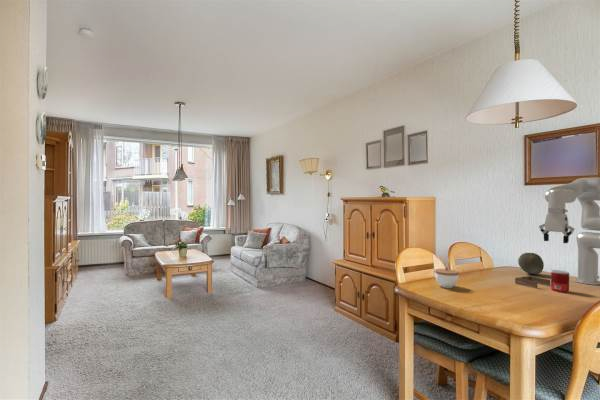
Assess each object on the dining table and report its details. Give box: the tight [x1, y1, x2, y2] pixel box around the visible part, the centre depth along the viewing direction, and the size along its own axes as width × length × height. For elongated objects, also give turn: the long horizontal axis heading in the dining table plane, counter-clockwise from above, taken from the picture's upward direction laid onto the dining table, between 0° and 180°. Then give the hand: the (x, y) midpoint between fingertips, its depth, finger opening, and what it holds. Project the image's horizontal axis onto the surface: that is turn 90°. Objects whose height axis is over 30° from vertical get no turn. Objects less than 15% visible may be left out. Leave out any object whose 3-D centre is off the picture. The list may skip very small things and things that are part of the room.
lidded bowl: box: [434, 266, 459, 289], centre depth 193 cm, size 13×13×11 cm
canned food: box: [550, 269, 570, 294], centre depth 187 cm, size 8×8×11 cm
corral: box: [514, 275, 551, 289], centre depth 200 cm, size 14×12×4 cm
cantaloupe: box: [517, 252, 545, 276], centre depth 228 cm, size 14×14×15 cm
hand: (555, 242), depth 185 cm, fingers open, 9 cm apart
